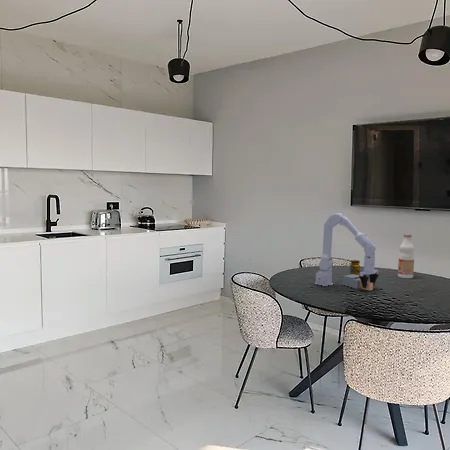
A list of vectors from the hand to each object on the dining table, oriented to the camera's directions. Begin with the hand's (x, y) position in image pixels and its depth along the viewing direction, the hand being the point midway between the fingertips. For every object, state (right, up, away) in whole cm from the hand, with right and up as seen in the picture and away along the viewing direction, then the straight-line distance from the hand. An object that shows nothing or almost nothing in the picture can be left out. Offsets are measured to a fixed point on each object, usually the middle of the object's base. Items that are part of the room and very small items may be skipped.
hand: (368, 287), depth 258 cm
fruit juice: (+35, +1, +35) cm, 50 cm away
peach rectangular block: (-1, -1, +2) cm, 3 cm away
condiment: (-1, +1, +27) cm, 27 cm away
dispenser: (-6, -1, +8) cm, 10 cm away
